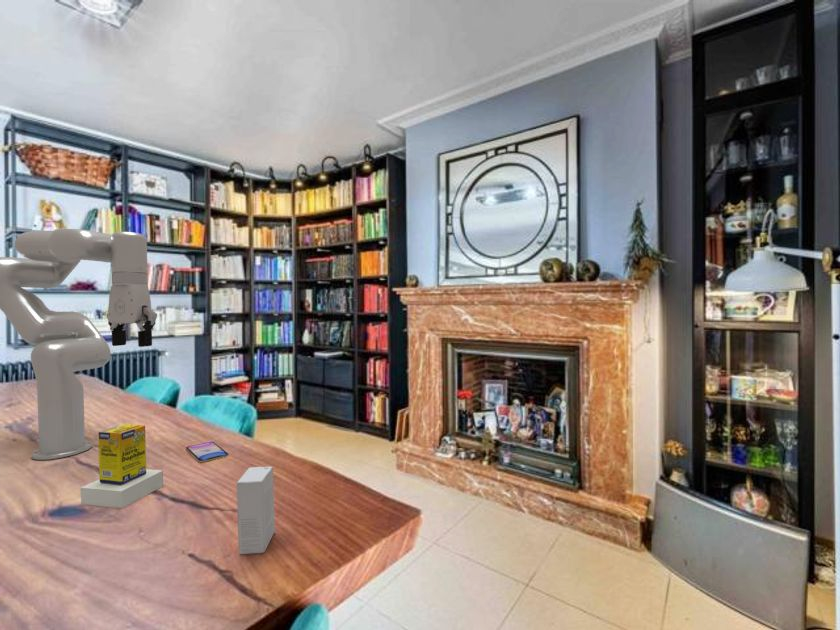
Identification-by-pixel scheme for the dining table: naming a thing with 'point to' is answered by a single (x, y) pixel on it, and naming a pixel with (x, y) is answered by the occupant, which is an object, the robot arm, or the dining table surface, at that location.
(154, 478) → the white square block
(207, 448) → the smartphone
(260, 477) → the skincare box
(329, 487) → the dining table surface
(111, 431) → the supplement box
